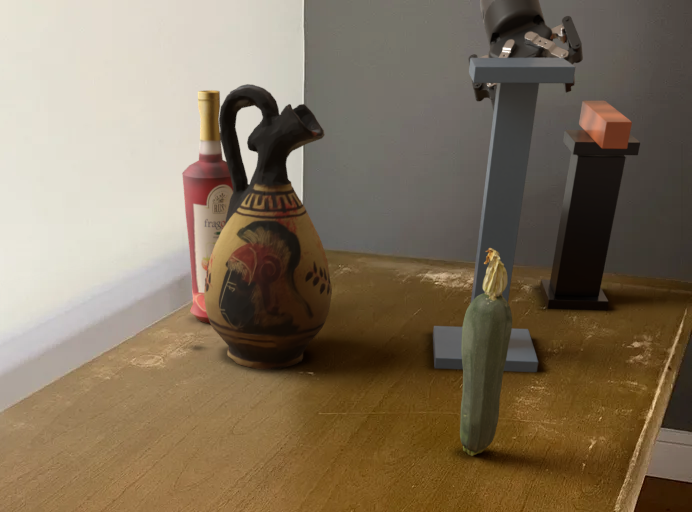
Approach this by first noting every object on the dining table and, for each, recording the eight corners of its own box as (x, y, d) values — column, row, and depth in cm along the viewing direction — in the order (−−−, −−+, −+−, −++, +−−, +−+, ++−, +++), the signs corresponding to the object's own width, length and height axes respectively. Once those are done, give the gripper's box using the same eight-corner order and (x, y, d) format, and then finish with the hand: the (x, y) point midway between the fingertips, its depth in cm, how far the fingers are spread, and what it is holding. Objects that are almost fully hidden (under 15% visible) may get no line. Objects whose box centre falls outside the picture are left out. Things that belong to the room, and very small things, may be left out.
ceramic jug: (348, 346, 123) (361, 82, 106) (297, 387, 111) (304, 98, 95) (231, 327, 129) (226, 76, 112) (172, 364, 118) (157, 91, 101)
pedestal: (539, 289, 142) (564, 129, 130) (595, 291, 141) (626, 130, 129) (547, 310, 134) (575, 141, 122) (606, 312, 133) (640, 142, 121)
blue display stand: (432, 336, 125) (460, 56, 107) (526, 340, 124) (571, 56, 106) (434, 369, 115) (465, 67, 97) (536, 373, 114) (587, 67, 96)
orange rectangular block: (578, 124, 134) (582, 100, 132) (600, 124, 133) (605, 100, 132) (601, 148, 117) (606, 121, 116) (627, 149, 117) (632, 121, 115)
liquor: (201, 330, 128) (192, 96, 113) (181, 315, 134) (169, 90, 118) (250, 322, 131) (248, 92, 115) (228, 308, 136) (224, 86, 121)
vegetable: (496, 468, 93) (527, 257, 82) (451, 468, 93) (477, 258, 82) (487, 448, 97) (516, 244, 86) (444, 449, 97) (467, 245, 86)
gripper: (566, 13, 133) (592, 100, 127) (464, 54, 138) (485, 140, 132) (561, -34, 127) (589, 55, 121) (454, 11, 131) (476, 99, 125)
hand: (534, 100), depth 126 cm, fingers open, 8 cm apart
